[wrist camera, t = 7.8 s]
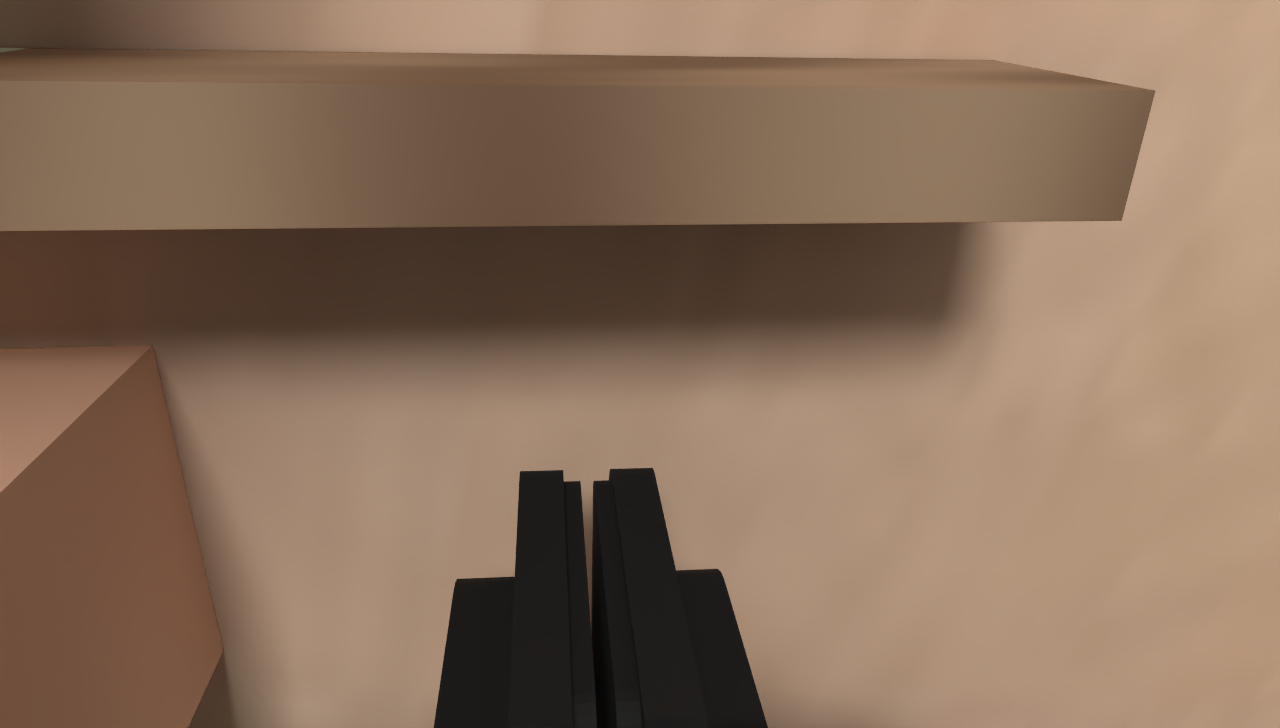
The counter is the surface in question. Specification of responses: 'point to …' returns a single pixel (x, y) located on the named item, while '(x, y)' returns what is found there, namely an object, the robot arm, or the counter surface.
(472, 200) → the channel
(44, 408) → the block
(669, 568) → the robot arm
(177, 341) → the counter surface
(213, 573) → the counter surface
